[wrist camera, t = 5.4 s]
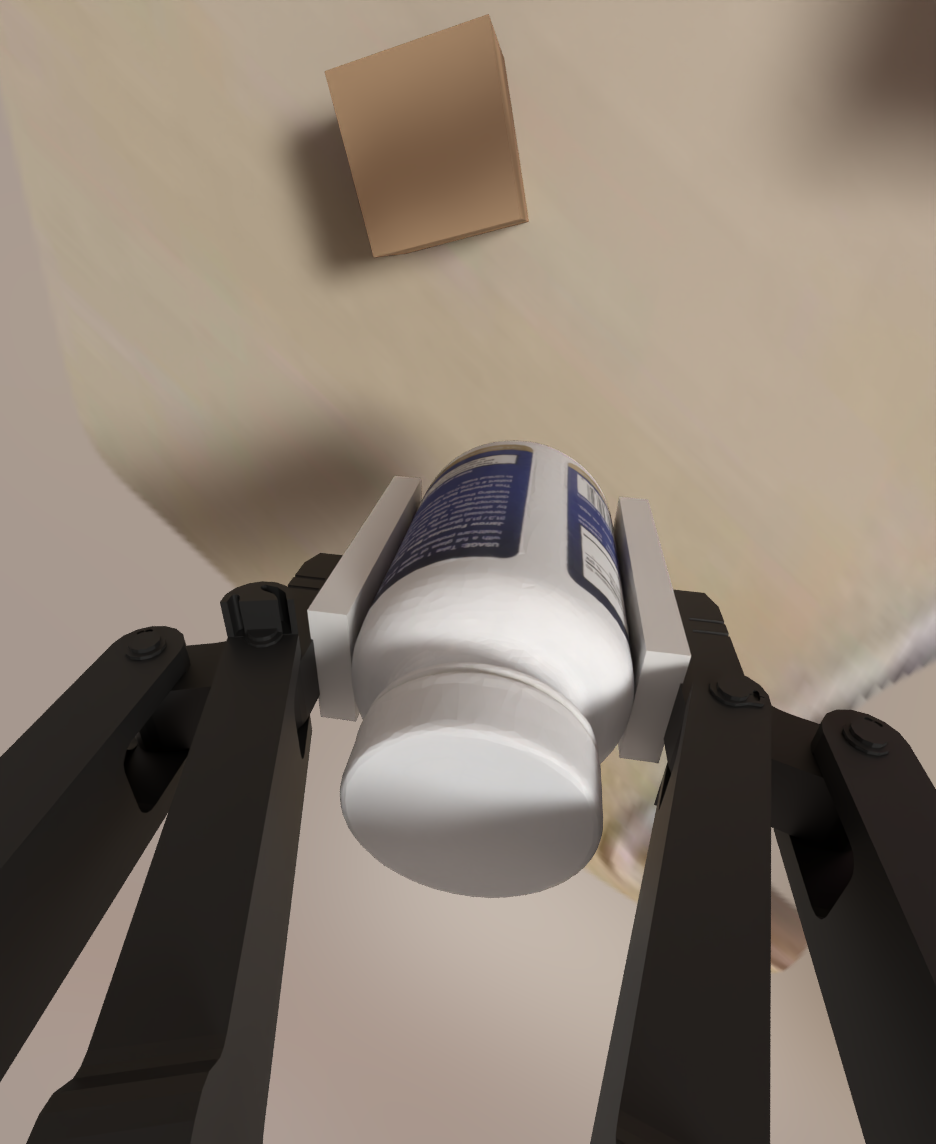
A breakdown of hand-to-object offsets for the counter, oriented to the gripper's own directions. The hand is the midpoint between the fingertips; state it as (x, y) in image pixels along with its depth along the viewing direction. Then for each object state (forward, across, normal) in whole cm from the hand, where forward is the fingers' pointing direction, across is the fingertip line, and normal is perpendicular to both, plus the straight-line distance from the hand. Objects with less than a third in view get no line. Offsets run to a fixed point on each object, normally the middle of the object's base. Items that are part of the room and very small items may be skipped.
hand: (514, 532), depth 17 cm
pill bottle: (+1, 0, 0) cm, 1 cm away
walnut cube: (+12, -4, +9) cm, 16 cm away
